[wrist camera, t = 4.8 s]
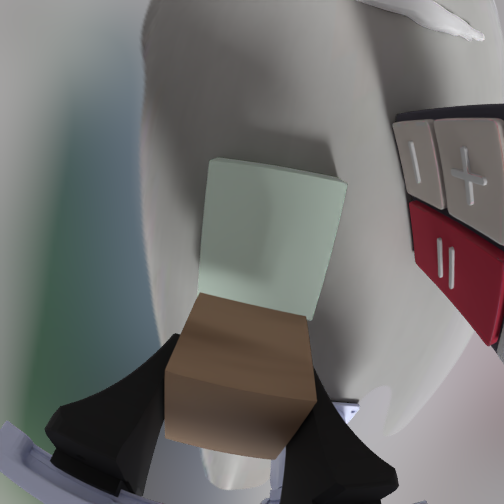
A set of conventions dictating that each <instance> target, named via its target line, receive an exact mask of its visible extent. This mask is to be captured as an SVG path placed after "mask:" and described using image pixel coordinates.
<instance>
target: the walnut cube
mask: <svg viewBox="0 0 504 504" xmlns="http://www.w3.org/2000/svg"><path fill="white" fill-rule="evenodd" d="M316 402H317V397H316V388H315V379H314V371H313V363H312V355H311V348H310V340H309V333H308V326H307V319H306V316H303V315H298V314H293V313H288V312H283V311H278V310H274V309H269V308H265V307H260V306H256V305H251V304H247V303H243V302H238V301H234V300H230V299H226V298H221V297H217V296H213V295H209V294H205V293H201V292H200V293H199V295H198V297H197V299H196V301H195V303H194V306H193V308H192V310H191V312H190V315H189V317H188V319H187V321H186V323H185V326H184V328H183V330H182V332H181V335H180V337H179V339H178V341H177V344H176V346H175V348H174V351H173V353H172V355H171V358H170V360H169V362H168V364H167V367H166V369H165V438H167V439H171V440H174V441H177V442H181V443H185V444H189V445H193V446H197V447H201V448H205V449H210V450H214V451H219V452H224V453H230V454H235V455H241V456H248V457H255V458H262V459H271V460H275V459H276V458H277V457H278V455H279V454H280V453H281V452H282V450H283V449H284V448H285V446H286V445H287V444H288V442H289V441H290V440H291V438H292V437H293V436H294V434H295V433H296V431H297V430H298V429H299V427H300V426H301V424H302V423H303V421H304V420H305V419H306V417H307V416H308V414H309V413H310V411H311V410H312V408H313V407H314V405H315V404H316Z"/></svg>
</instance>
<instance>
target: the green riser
mask: <svg viewBox="0 0 504 504" xmlns="http://www.w3.org/2000/svg"><path fill="white" fill-rule="evenodd" d="M347 185H348V184H347V183H346V182H344V181H343V180H341V179H339V178H338V177H333V176H328V175H324V174H319V173H314V172H309V171H304V170H298V169H293V168H287V167H281V166H275V165H269V164H263V163H257V162H250V161H243V160H235V159H228V158H220V157H218V158H215V159H212V160H209V168H208V176H207V185H206V195H205V204H204V215H203V225H202V237H201V249H200V263H199V277H198V294H197V297H198V295H199V293H200V292H201V293H205V294H209V295H213V296H217V297H221V298H226V299H230V300H234V301H238V302H243V303H247V304H251V305H256V306H260V307H265V308H269V309H274V310H278V311H283V312H288V313H293V314H298V315H303V316H306V319H307V320H310V321H312V319H313V315H314V312H315V309H316V306H317V302H318V299H319V296H320V292H321V289H322V285H323V282H324V278H325V275H326V271H327V268H328V264H329V260H330V257H331V253H332V249H333V245H334V241H335V237H336V233H337V229H338V225H339V221H340V217H341V212H342V208H343V204H344V199H345V195H346V190H347Z"/></svg>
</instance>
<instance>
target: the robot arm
mask: <svg viewBox="0 0 504 504" xmlns="http://www.w3.org/2000/svg"><path fill="white" fill-rule="evenodd" d="M179 337H180V335H179V334H176V333H175V334H173V335H172V336H171V337H170V339H169V340H168V341H167V342H166V343H165V344H164V345H163V346H162V347H161V348H160V349H159V350H158V351H157V352H156V353H155V354H154V355H153V356H152V357H150V358H149V359H148V360H147V361H146V362H145V363H144V364H142V365H141V366H140V367H138V368H137V369H136V370H135V371H133V372H132V373H131V374H129V375H128V376H127V377H125V378H123V379H122V380H120V381H119V382H117V383H115V384H114V385H112V386H110V387H108V388H107V389H105V390H103V391H101V392H99V393H96V394H94V395H92V396H89V397H87V398H85V399H82V400H79V401H76V402H74V403H70V404H67V405H63V406H60V407H59V408H58V410H57V411H56V412H55V413H54V414H53V416H52V417H51V419H50V421H49V422H48V424H47V426H46V427H45V432H46V434H47V436H48V438H49V439H50V440H51V442H52V443H53V444H54V446H55V447H56V450H55V452H54V454H53V455H51V454H49V453H48V452H46V451H44V450H43V449H41V448H40V447H38V446H36V445H35V444H34V443H33V441H32V440H31V439H30V438H29V437H28V436H27V435H26V434H25V433H24V432H22V431H21V430H20V429H18V428H17V427H15V426H14V425H13V424H11V423H10V422H9V421H6V422H5V423H4V425H3V426H2V428H1V429H0V471H1V472H2V473H3V474H4V475H5V476H7V477H8V478H9V479H11V480H12V481H13V482H14V483H16V484H17V485H18V486H20V487H21V488H22V489H24V490H25V491H27V492H28V493H29V494H31V495H32V496H34V497H35V498H37V499H38V500H40V501H41V502H43V503H44V504H163V503H160V502H156V501H153V500H150V499H146V498H144V497H141V496H143V493H144V488H145V484H146V480H147V475H148V472H149V468H150V464H151V460H152V456H153V453H154V449H155V446H156V442H157V439H158V436H159V432H160V429H161V426H162V424H163V421H164V419H165V369H166V367H167V364H168V362H169V360H170V358H171V355H172V353H173V351H174V348H175V346H176V344H177V341H178V339H179ZM313 371H314V379H315V388H316V397H317V402H316V404H315V405H314V407H313V408H312V410H311V411H310V413H309V414H308V416H307V417H306V419H305V420H304V421H303V423H302V424H301V426H300V427H299V429H298V430H297V431H296V433H295V434H294V436H293V437H292V438H291V440H290V441H289V442H288V444H287V445H286V446H285V448H284V449H283V450H282V452H281V453H280V454H279V455H278V457H277V458H276V459H275V460H271V473H270V484H271V488H272V490H270V498H266V499H264V500H263V501H262V502H261V503H260V504H381V499H382V498H384V497H386V496H387V495H389V494H391V493H392V492H394V491H395V490H396V489H397V488H398V486H399V484H398V478H397V474H396V471H395V468H393V467H392V466H390V465H389V464H388V463H386V462H385V461H384V460H382V459H381V458H379V457H378V456H377V455H376V454H374V453H373V452H372V451H371V450H370V449H369V448H368V447H367V446H366V445H365V444H364V443H363V442H362V441H361V440H360V439H359V438H358V437H357V436H356V435H355V434H354V432H353V431H352V430H351V429H350V428H349V426H348V425H347V423H348V422H349V421H350V420H351V418H352V417H353V416H354V415H355V414H356V412H357V411H358V410H359V409H360V406H359V404H353V403H340V402H332V401H331V400H330V398H329V396H328V394H327V392H326V391H325V389H324V387H323V385H322V383H321V381H320V379H319V377H318V375H317V373H316V371H315V369H314V367H313ZM414 504H427V501H421V502H418V503H414Z"/></svg>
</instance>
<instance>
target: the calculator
mask: <svg viewBox="0 0 504 504" xmlns="http://www.w3.org/2000/svg"><path fill="white" fill-rule="evenodd" d="M393 130H394V134H395V138H396V142H397V146H398V150H399V155H400V159H401V164H402V168H403V173H404V179H405V184H406V189H407V192H408V193H409V194H411V195H412V199H413V201H412V202H409V208H410V216H411V223H412V232H413V241H414V252H415V262H416V264H417V265H418V266H419V267H420V268H421V269H422V270H423V271H424V272H425V273H426V275H427V276H428V277H429V278H430V279H431V280H432V281H433V282H434V283H435V284H436V285H437V286H438V288H439V289H440V290H441V291H442V292H443V293H444V294H445V295H446V297H447V298H448V299H449V300H450V301H451V302H452V303H453V305H454V306H455V307H456V308H457V309H458V310H459V312H460V313H461V314H462V315H463V316H464V318H465V319H466V320H467V321H468V323H469V324H470V325H471V326H472V328H473V329H474V330H475V331H476V333H477V334H478V335H479V336H480V338H481V339H482V340H483V342H484V343H485V344H486V345H487V346H490V345H491V346H492V348H493V349H494V350H495V351H496V353H497V355H498V357H499V358H500V360H501V361H502V362H503V364H504V104H482V105H467V106H455V107H444V108H435V109H427V110H420V111H413V112H406V113H401V114H397V115H396V122H395V123H393Z"/></svg>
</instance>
